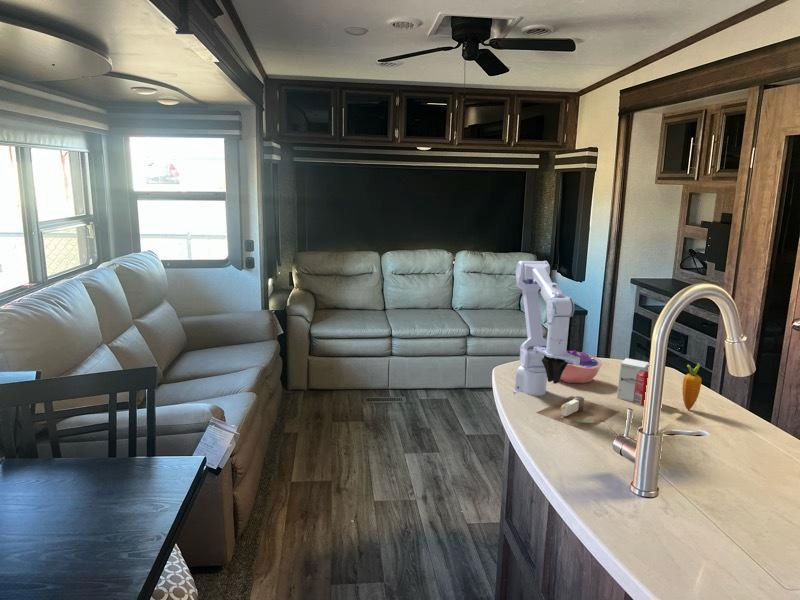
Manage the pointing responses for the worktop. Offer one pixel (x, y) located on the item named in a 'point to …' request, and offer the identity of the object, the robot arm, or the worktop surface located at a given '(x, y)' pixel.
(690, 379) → the carrot
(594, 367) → the cell model
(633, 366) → the supplement box
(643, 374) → the soda can
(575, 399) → the peg
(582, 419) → the brown flat sheet
